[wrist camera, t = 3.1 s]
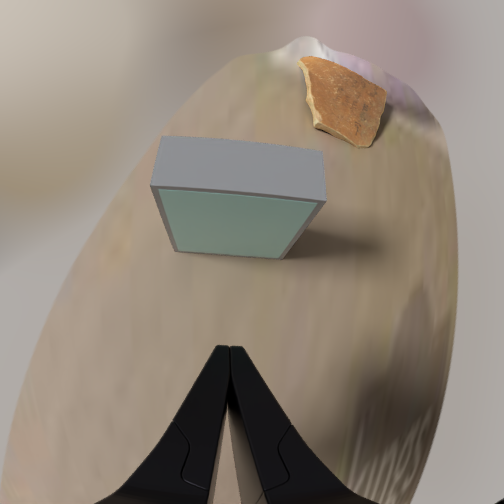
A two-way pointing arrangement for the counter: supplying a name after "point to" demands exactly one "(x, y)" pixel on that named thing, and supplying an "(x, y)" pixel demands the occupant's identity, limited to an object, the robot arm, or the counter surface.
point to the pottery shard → (342, 101)
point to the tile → (236, 195)
